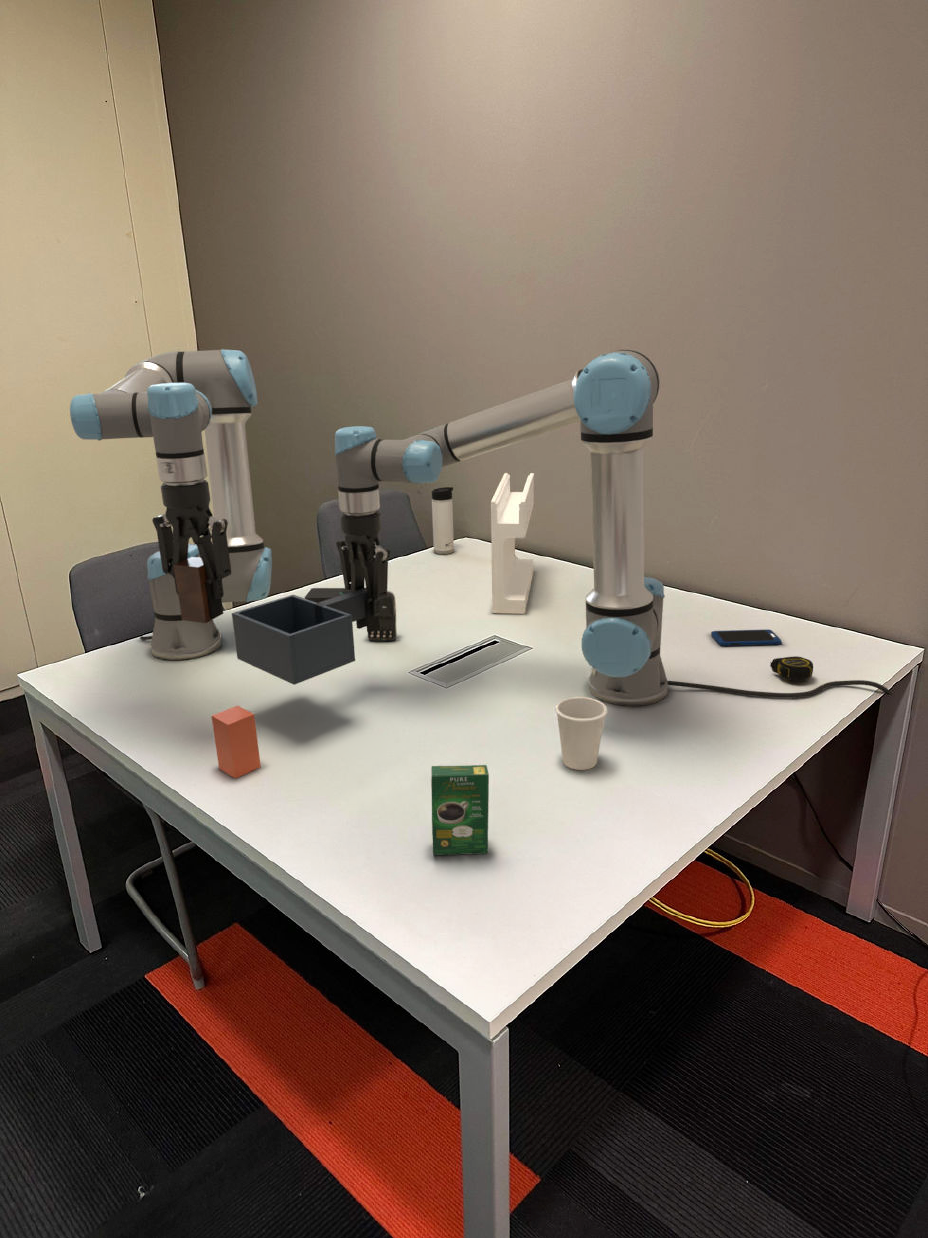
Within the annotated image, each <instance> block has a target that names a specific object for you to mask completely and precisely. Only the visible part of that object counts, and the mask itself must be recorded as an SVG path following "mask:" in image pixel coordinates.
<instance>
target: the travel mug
mask: <svg viewBox="0 0 928 1238" xmlns="http://www.w3.org/2000/svg"><path fill="white" fill-rule="evenodd" d="M453 491H454V487H453V486H444V487H439V488H434V489H433V490H432V491H431V514H432V515H431V517H432V518H431V519H432V539H433V540H432V541H433V542H432V543H433V552H434V553H435V554H437V555H448V554H449V555H450V554H452V553H454V551H455V540H454V537H455V536H454V505H453V504H454V503H453Z"/></svg>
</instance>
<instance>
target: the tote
mask: <svg viewBox="0 0 928 1238" xmlns="http://www.w3.org/2000/svg"><path fill="white" fill-rule="evenodd" d="M373 594H374V593H373ZM366 598H368V597H367V590H366V587H364V588H362V589H359V590H356V591H353V592H350V593H347V594H344V595H341V596H337V597H334V598H331V599H328V600H325V601H322V602H319V603H316V602H313V601H310V600H308V599H305V597H302V596H299V595H296V594H290V595H286V596H284V597H281V598H277V599H274V600H270V601H268V602H264V603H261V604H257V605H254V606H250V607H247V608H243V609H241V610H237V611H233V612H231V620H232V628H233V635H234V643H235V651H236V658H237V660H239V661H241V662H243V663H245V664H248V665H250V666H252V667H254V668H257V669H259V670H260V671H263V672H265V673H268V674H269V675H272V676H274V677H276V678H278V679H280V680H283V681H284V682H287V683H289V684H292V685H294V686H295V685H297V684H300V683H303V682H305V681H308V680H310V679H313V678H315V677H317V676H320V675H323V674H326V673H328V672H331V671H334V670H336V669H339V668H341V667H344V666H346V665H348V664H351V663H354V662H356V653H355V651H356V650H355V640H354V638H355V637H354V626H353V625H354V624H353V622H356V621H357V620H359V619H362V618H365V617H366V609H365V599H366ZM382 611H383V606H382V598H381V599H380V612H382Z"/></svg>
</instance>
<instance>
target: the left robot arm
mask: <svg viewBox="0 0 928 1238" xmlns="http://www.w3.org/2000/svg"><path fill="white" fill-rule="evenodd" d="M251 367H252V366H251V364H250V361H249V358H248V356H247V355H246V354H245V353H244V352H243V351H241V350H237V349H236V350H235V349H211V350H210V349H209V350H208V349H207V350H189V351H188V350H187V351H177V350H176V351H168V352H164V353H163V352H162V353H160V354H157V355H153V356H151V357H148V358H145V359H143V360H140V361H139V362H137V363H135V364H134V365H132V366H131V367H130V368H129V369H128V370H127V371H126V373H125V375H124V378H122V379H121V380H119V381H118V382H117V383H114V384H113V385H111V386H110V387H109V388H107V389H105V390H104V391H103V392H100V393H91V392H88V393H85V394H84V393H83V394H75V395H74V396H73V397H72V398H71V401H70V405H69V415H70V421H71V425H72V428H73V431H74V433H75V435H76V436H77V437H78V438H80V439H82V440H86V441H87V440H92V441H93V440H94V441H95V440H96V441H102V440H117V439H119V440H120V439H136V438H140V439H141V438H153V445H154V450H155V456H156V464H157V471H158V478H159V481H160V482H162V484H161V485H160V493H161V498H162V504H163V506H164V507H165V508H166V510H165V512H164V513H165V514H161V515H158V516H155V517H153V518H152V521H151V522H152V523H153V526H154V528H155V530H156V534H157V542H158V549H159V550H158V551H155V552H154V553H153V554H152V555H150V556H149V557H148V559H147V561H146V569H147V580H148V584H149V589H150V596H151V603H152V608H153V613H154V626H153V628H152V629H153V630H152V635H147V636H143V635H141V636H140V637H139V640H142V641H149V640H150V650H151V654H152V655H153V656H154V657H156V658H157V659H158V658H159V659H161V660H166V661H167V660H168V661H184V660H191V659H195V658H196V659H197V658H199V657H204V656H206V655H209V654H211V653H213V652H215V651H216V650H218V649H219V648H220V647H221V645H222V636H221V632H220V629H219V628H218V627H217V626H216V625H217V624H215V622H214V620H215V619H216V617H217V618H218V617H220V616H222V615H223V614H224V608H223V609H222V606H223V604H225V603H239V602H240V603H241V602H246V603H249V602H255V601H263V600H265V599H267V597H268V596H269V594H270V590H271V583H272V571H273V555H272V549H271V548H270V547H265V543H264V539H263V538H262V537H261V536H260V535H259V534H257V532H256V523H255V512H254V501H253V491H252V483H251V482H252V481H251V471H250V462H249V451H248V449H249V448H248V439H247V429H246V422H247V421H248V420H249V418H251V416H252V408H254V407H255V406H257V405H258V394H257V387H256V382H255V379H254V374H253V370H252V368H251ZM203 431H204V438H205V447H206V454H205V449H204V444H203V433H202V432H203ZM205 455H207V456H205ZM206 457H207V462H206ZM207 465H208V469H207ZM208 475H209V482H210V486H209V482H208V480H206V478H207V477H208ZM211 502H212V503H211ZM210 503H211V504H212V511H211V509H210ZM190 539H191V540H192V542H193V544H192V543H190ZM191 557H199V558H201V559H202V562H203V565H204V567H205V570H206V573H207V576H208V580H206V582H205V585H206V592H207V599H208V607H209V614H210V618H212V619H213V620H211V621H209V622H208V623H199V622H192V621H184V620H182V616H181V609H180V603H179V596H178V589H177V583H176V576H175V570H174V565H175V564H177V563H180V562H182V561H184V560H186V559H189V558H191ZM221 599H222V601H221ZM221 614H222V615H221ZM219 615H220V616H219ZM214 618H215V619H214Z"/></svg>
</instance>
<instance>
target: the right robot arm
mask: <svg viewBox="0 0 928 1238" xmlns="http://www.w3.org/2000/svg"><path fill="white" fill-rule="evenodd" d="M660 384H661V381H660V374H659V371H658V369H657V367H656V365H655V363H654V362H653V361H652V359H651V358H650V357H648V355H646V354H645V353H642V352H640V351H638V350H634V349H618V350H615V351H612V352H609V353H604V354H601V355H599V356H597V357H595V358H594V359H592V360H591V361H589V363H588V364H587V365H586V366H585V367H584V368H582V369H578V370H577V371H576V372H575V374H574V377H572V378H571V379H568V380H565V381H563V382H560V383H557V384H554V385H551V386H548V387H546V388H543V389H540V390H537V391H534V392H532V393H529V394H526V395H523V396H519V397H517V398H515V399H512V400H509V401H506V402H503V403H501V404H498V405H495V406H493V407H489V408H487V409H484V410H480V411H478V412H476V413H472V414H470V415H467V416H464V417H461V418H457V419H456V420H453V421H450V422H448V423H444V424H442V425H438V426H434V427H431V428H429V429H425V430H424V431H422V432H420V433H417V434H415V435H412V436H410V437H406V438H405V439H381V438H378V437H377V434H376V430H375V428H374V427H371V426H364V425H356V426H355V425H354V426H346V427H342V428H339V429H338V430H336V432H335V434H334V456H335V463H336V471H337V472H336V475H337V486H338V487H337V488H338V490H337V493H338V494H337V495H338V507H339V511H340V512H341V513H340V515H339V517H340V528H341V532H342V534H343V535H344V539H342V540H339V541H336V543H335V544H336V548H337V550H338V553H339V558H340V559H339V560H340V566H341V571H342V579H343V585H344V588H345V589H346V591H350V592H353V591H356V590H359V589H362V588H366V590H367V597H368V598H366V599H365V609H366V617H365V618H362V619H359V620H357V621H355V622H356V623H355V624H356V629H358V630H360V629H363V628H365V627H366V633H368V632H369V633H370V632H373V631H375V630H378V629H380V621H379V615H380V599H381V598H384V597H386V596H387V591H388V583H389V582H388V579H389V560H390V557H391V550H390V549H388V548H387V549H384V548H383V547H382V546H381V541H380V538H379V533H380V531H381V530H382V517H381V514H382V513H381V512H380V510H379V509H380V508H381V502H380V486H379V485H380V483H379V482H390V483H406V484H415V485H420V484H433V483H435V482H437V481H438V480H439V478H440V475H441V473H442V469H443V468H445V467H447V466H450V465H451V466H452V465H454V464H456V463H460V462H462V461H465V460H468V459H470V458H473V457H477V456H481V455H484V454H486V453H489V452H493V451H496V450H498V449H501V448H505V447H508V446H510V445H514V444H517V443H520V442H523V441H526V440H530V439H532V438H535V437H539V436H541V435H545V434H548V433H551V432H554V431H557V430H560V429H562V428H566V427H569V426H573V425H575V424H578V423H580V425H579V426H580V442H581V443H582V444H583V445H584V446H585V447H586V448H587V449H588V450H589V453H590V484H591V485H590V486H591V522H592V559H593V588H592V589H591V590H590V591H589V592H588V593H587V594H586V595H585V629H584V631H583V633H582V636H581V652H582V655H583V657H584V659H585V661H586V662H587V664H588V665H589V666H591V673H590V676H589V678H588V690H589V692H590V693H591V695H593V696H594V697H596V698H597V699H598V700H601V701H603V702H607V703H609V704H613V705H618V706H627V707H628V706H629V707H636V706H637V707H639V706H640V707H641V706H646V705H652V704H655V703H657V702H660V701H662V700H663V699H664V698H666V696H667V694H668V688H669V687H668V686H672V687H682V688H689V689H690V688H692V689H700V690H707V691H714V692H715V691H716V692H724V693H729V694H735V695H736V694H737V695H743V696H751V697H764V698H779V699H782V698H784V699H789V698H791V699H793V698H794V699H795V698H805V697H810V696H813V695H815V694H818V693H820V692H821V691H823V690H825V689H827V688H830V687H838V686H869V687H873V688H876V689H878V690H880V691H881V692H883V693H884V694H885V695H889V696H891V695H893V693H892V691H891V690H889V688H887V687H886V686H884V685H882V684H880V683H878V682H876V681H871V680H866V679H865V680H863V679H853V680H835V681H829V682H826V683H823V684H821V685H819V686H817V687H816V688H814V689H811V690H807V691H801V692H771V691H756V690H755V691H754V690H748V689H747V690H745V689H738V688H731V687H726V686H720V685H719V686H717V685H711V684H703V683H694V682H685V681H675V680H668V678H667V675H666V670H665V668H664V664H663V661H662V657H661V646H662V628H663V611H664V610H663V609H664V599H665V587H664V584H663V582H661V581H660V580H659V579H656V578H653V577H649V576H645V499H644V498H645V496H644V495H645V494H644V493H645V492H644V491H645V487H644V484H645V483H644V480H645V479H644V478H645V477H644V476H645V475H644V474H645V473H644V469H645V468H644V467H645V466H644V465H645V464H644V449H645V447H646V446H647V445H648V444H649V443H650V441H652V439H653V438H654V403H655V402H656V400H657V398H658V396H659V391H660ZM373 593H374V594H373Z"/></svg>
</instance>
